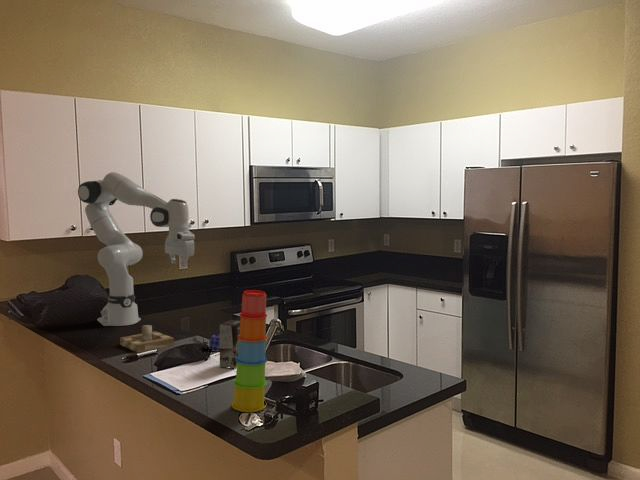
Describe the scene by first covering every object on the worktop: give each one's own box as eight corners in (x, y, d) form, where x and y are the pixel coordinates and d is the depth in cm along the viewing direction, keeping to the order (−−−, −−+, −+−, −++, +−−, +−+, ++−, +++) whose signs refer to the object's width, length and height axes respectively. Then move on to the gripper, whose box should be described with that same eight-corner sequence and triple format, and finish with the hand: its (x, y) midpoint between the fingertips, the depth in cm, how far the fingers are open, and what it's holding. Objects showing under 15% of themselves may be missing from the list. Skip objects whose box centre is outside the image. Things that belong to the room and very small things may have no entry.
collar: (120, 344, 225) (120, 337, 225) (155, 337, 236) (155, 331, 236) (138, 352, 213) (137, 345, 213) (174, 345, 225) (173, 338, 225)
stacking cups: (250, 397, 166) (250, 287, 164) (273, 405, 160) (273, 291, 157) (224, 406, 159) (224, 291, 156) (247, 416, 152) (247, 295, 149)
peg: (140, 344, 225) (140, 326, 224) (149, 343, 228) (149, 324, 227) (145, 346, 222) (144, 327, 221) (153, 345, 225) (153, 326, 224)
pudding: (238, 347, 223) (238, 335, 222) (217, 354, 213) (217, 341, 213) (218, 343, 230) (218, 331, 229) (197, 349, 220) (196, 336, 220)
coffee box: (234, 369, 193) (234, 325, 192) (219, 367, 195) (218, 324, 194) (246, 362, 202) (246, 320, 201) (231, 360, 204) (230, 318, 203)
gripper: (161, 233, 250) (161, 263, 251) (184, 236, 235) (184, 267, 236) (173, 233, 254) (173, 262, 255) (196, 235, 240) (197, 266, 241)
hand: (179, 264), depth 246 cm, fingers open, 8 cm apart
